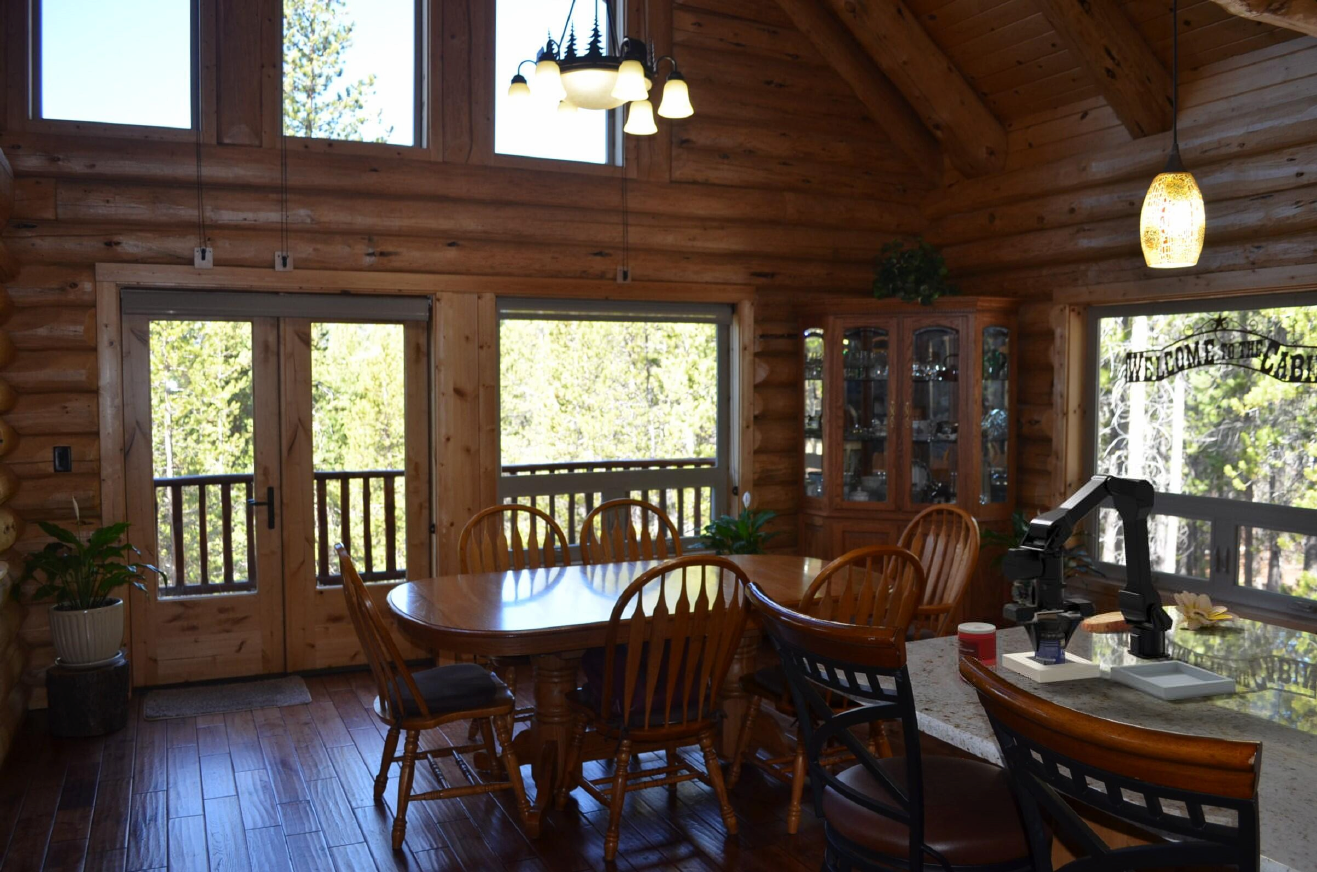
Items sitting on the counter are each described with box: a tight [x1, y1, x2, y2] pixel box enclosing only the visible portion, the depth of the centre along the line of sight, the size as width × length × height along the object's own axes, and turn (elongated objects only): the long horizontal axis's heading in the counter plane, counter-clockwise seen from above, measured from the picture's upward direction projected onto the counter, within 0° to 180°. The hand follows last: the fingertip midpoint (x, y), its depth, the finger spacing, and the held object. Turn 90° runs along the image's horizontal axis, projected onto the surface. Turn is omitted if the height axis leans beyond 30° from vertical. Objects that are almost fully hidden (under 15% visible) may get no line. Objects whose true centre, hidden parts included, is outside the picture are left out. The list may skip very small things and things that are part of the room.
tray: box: [1109, 659, 1237, 701], centre depth 209 cm, size 16×16×2 cm
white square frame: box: [1001, 651, 1101, 684], centre depth 222 cm, size 14×14×2 cm
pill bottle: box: [1034, 617, 1066, 666], centre depth 221 cm, size 6×6×11 cm
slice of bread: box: [1080, 611, 1132, 634], centre depth 260 cm, size 18×18×4 cm
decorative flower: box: [1173, 590, 1242, 631], centre depth 256 cm, size 15×11×10 cm
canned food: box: [957, 622, 998, 682], centre depth 218 cm, size 8×8×11 cm
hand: (1049, 650), depth 221 cm, fingers closed on pill bottle, 6 cm apart
